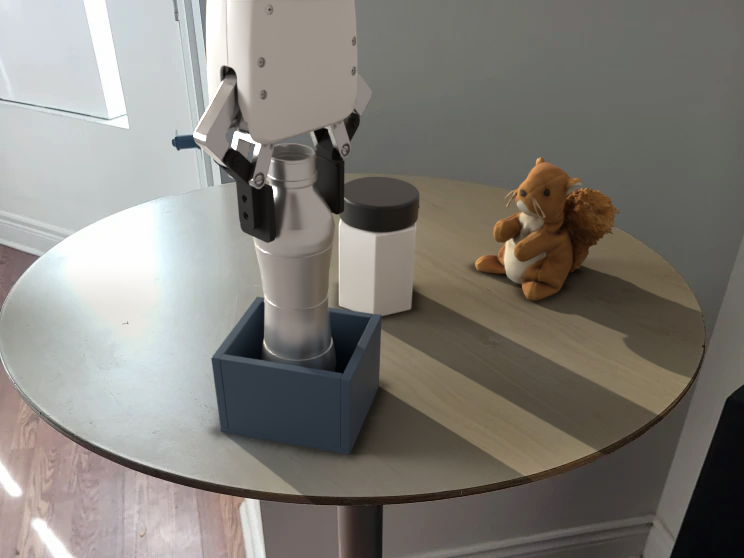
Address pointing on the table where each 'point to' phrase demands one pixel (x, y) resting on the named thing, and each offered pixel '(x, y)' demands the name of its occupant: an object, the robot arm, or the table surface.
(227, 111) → the robot arm
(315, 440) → the bin
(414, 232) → the jar
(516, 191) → the stuffed squirrel
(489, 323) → the table surface
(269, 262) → the silver metal bottle
